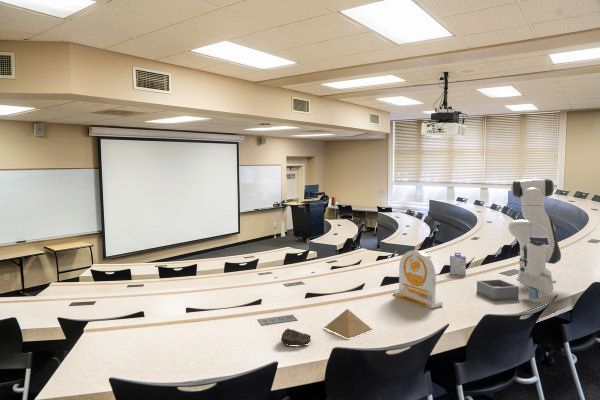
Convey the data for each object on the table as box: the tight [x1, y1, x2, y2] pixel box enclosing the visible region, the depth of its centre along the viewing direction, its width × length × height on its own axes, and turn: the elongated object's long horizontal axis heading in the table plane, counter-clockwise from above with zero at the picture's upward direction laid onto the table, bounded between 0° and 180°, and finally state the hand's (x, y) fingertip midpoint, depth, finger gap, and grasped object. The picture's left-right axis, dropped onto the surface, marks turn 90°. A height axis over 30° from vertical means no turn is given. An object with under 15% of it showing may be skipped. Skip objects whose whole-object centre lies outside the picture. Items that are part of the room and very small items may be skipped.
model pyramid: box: [323, 308, 373, 338], centre depth 177 cm, size 17×17×10 cm
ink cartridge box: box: [449, 252, 467, 276], centre depth 271 cm, size 10×6×14 cm, turn 78°
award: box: [392, 249, 444, 309], centre depth 216 cm, size 28×9×28 cm, turn 29°
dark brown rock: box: [280, 327, 312, 346], centre depth 163 cm, size 12×10×5 cm
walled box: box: [476, 278, 520, 302], centre depth 223 cm, size 15×15×7 cm
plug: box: [528, 287, 542, 303], centre depth 214 cm, size 4×4×7 cm
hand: (535, 295), depth 214 cm, fingers closed on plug, 4 cm apart
